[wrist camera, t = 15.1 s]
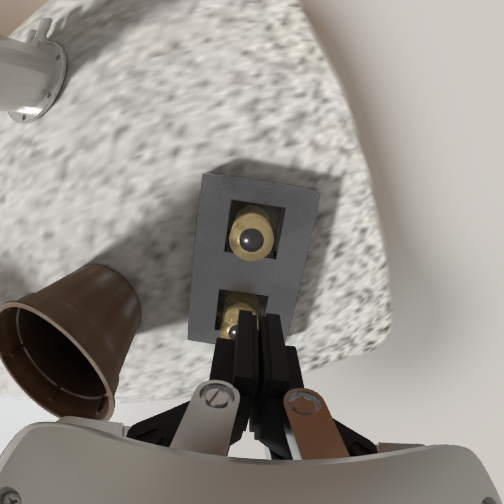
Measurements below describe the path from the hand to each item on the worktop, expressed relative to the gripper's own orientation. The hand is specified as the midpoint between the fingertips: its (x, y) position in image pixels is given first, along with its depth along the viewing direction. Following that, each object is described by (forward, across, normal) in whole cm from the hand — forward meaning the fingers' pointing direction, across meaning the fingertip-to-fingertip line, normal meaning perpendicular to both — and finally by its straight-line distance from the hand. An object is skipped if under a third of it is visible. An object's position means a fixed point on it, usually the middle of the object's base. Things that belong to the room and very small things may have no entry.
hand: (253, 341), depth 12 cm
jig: (+22, 0, +5) cm, 22 cm away
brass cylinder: (+22, 0, 0) cm, 22 cm away
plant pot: (+22, +19, +14) cm, 32 cm away
